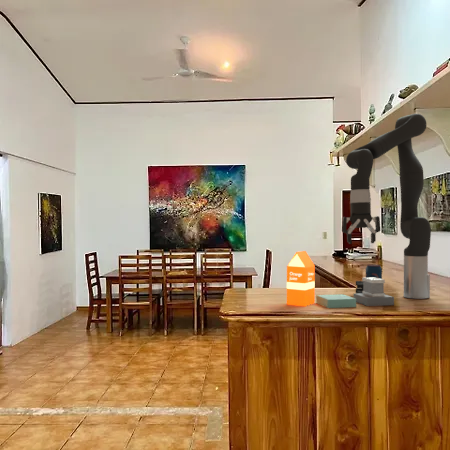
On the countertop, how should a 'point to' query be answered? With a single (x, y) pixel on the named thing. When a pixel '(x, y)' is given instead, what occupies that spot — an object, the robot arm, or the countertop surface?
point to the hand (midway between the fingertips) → (361, 243)
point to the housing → (373, 287)
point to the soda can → (374, 271)
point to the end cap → (359, 286)
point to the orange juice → (300, 280)
